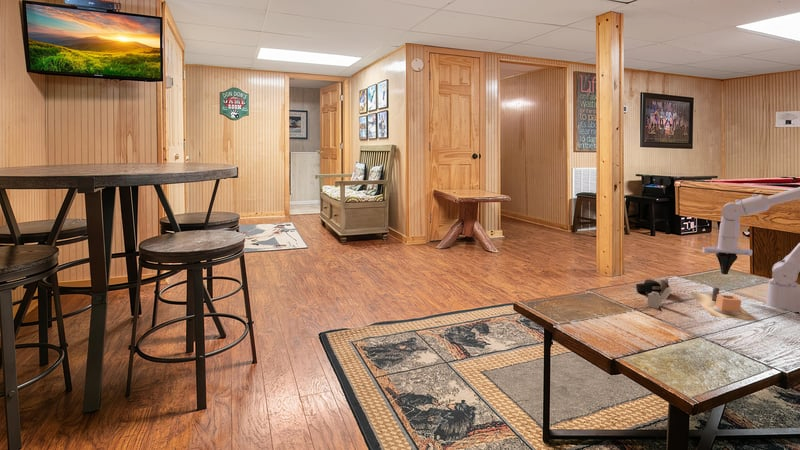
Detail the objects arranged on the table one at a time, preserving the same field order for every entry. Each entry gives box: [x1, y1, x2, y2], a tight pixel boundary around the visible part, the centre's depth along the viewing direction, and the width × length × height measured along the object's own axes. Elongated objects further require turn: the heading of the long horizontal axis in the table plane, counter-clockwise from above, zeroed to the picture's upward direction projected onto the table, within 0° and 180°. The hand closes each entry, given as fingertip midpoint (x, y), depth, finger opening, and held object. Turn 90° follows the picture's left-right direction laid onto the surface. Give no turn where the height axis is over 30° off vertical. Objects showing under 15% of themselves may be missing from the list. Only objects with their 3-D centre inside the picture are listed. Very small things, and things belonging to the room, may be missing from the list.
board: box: [689, 286, 758, 321], centre depth 152 cm, size 12×24×6 cm, turn 163°
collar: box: [716, 293, 742, 312], centre depth 146 cm, size 5×5×4 cm
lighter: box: [647, 286, 673, 310], centre depth 152 cm, size 7×2×8 cm, turn 29°
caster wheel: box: [635, 277, 671, 299], centre depth 167 cm, size 7×12×10 cm
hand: (724, 273), depth 160 cm, fingers closed
